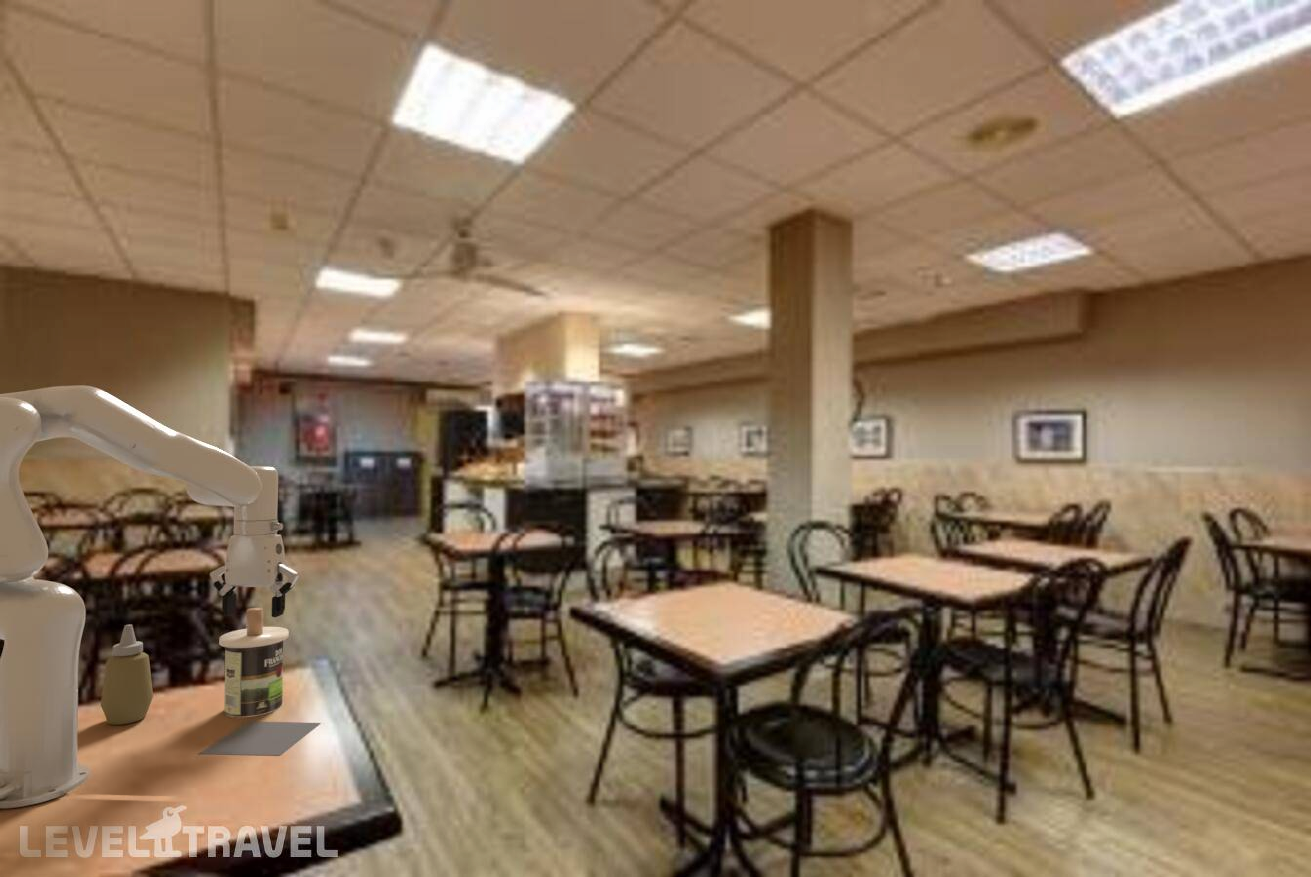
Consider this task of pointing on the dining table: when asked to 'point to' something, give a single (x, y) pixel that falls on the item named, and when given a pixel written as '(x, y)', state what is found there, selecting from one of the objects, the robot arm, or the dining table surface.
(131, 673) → the squeeze bottle
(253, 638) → the lid
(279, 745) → the mat
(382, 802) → the dining table surface
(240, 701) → the coffee can
